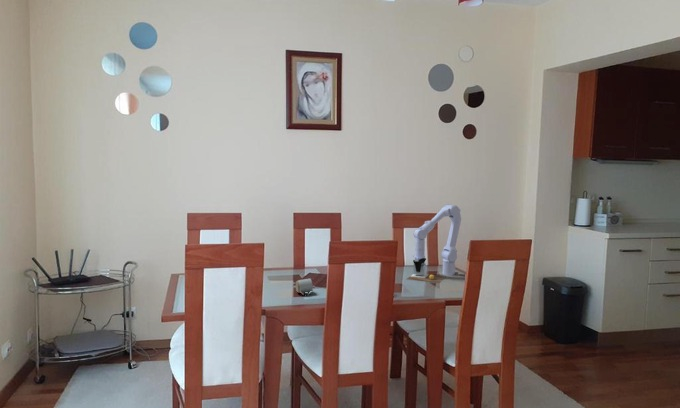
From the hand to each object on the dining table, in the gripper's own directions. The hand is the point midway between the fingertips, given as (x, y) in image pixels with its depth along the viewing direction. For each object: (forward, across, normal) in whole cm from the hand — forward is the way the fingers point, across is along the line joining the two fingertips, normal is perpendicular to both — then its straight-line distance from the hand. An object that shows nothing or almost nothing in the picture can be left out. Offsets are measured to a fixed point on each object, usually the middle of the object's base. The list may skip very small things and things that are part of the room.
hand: (419, 270), depth 288 cm
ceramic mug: (+4, +62, -46) cm, 77 cm away
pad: (+3, 0, 0) cm, 3 cm away
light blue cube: (+2, 0, 0) cm, 2 cm away
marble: (+2, +6, +9) cm, 11 cm away
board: (+4, +3, +5) cm, 7 cm away
